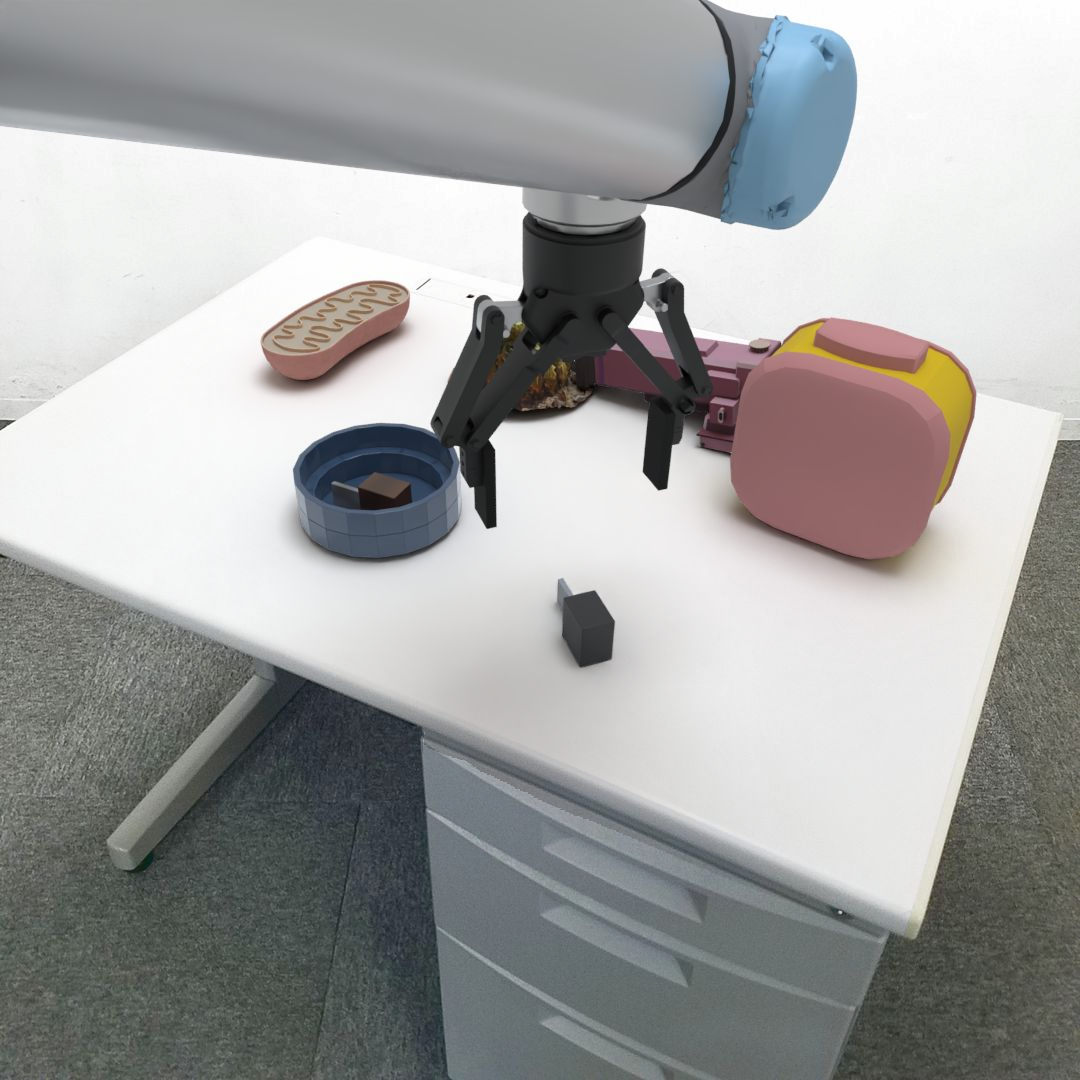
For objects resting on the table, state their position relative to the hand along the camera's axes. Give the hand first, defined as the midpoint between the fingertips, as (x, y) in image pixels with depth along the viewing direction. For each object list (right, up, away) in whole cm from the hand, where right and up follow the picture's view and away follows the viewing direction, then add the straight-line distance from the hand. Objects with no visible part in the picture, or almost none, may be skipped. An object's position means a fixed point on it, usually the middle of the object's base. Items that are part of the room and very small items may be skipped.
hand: (572, 498), depth 71 cm
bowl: (-18, 0, +21) cm, 28 cm away
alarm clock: (+25, -1, +22) cm, 33 cm away
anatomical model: (-27, +20, +48) cm, 59 cm away
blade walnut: (-19, -1, +20) cm, 27 cm away
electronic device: (+14, +11, +37) cm, 41 cm away
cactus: (-5, +15, +42) cm, 44 cm away
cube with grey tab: (+1, -11, +9) cm, 14 cm away
